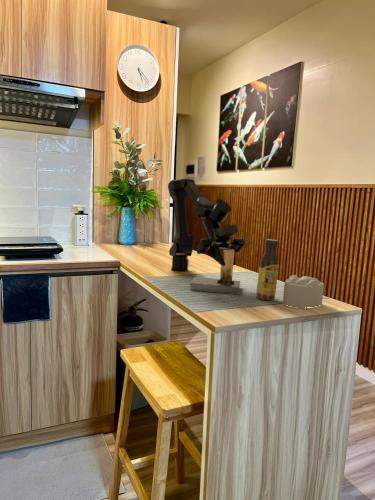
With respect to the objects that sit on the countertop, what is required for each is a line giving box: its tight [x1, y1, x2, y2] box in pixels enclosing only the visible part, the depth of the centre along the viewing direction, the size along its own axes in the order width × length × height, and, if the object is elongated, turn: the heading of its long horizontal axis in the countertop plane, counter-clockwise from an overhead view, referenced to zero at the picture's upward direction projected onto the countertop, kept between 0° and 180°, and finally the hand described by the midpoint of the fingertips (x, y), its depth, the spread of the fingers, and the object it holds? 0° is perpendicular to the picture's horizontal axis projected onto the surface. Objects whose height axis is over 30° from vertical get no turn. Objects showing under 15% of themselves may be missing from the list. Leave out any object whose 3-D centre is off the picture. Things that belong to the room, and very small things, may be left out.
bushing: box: [219, 248, 234, 284], centre depth 132 cm, size 4×4×12 cm
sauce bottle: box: [255, 238, 280, 301], centre depth 123 cm, size 6×6×20 cm
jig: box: [189, 276, 241, 295], centre depth 133 cm, size 17×10×2 cm, turn 80°
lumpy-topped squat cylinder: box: [282, 274, 325, 309], centre depth 120 cm, size 10×13×9 cm
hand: (229, 265), depth 131 cm, fingers closed on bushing, 4 cm apart
